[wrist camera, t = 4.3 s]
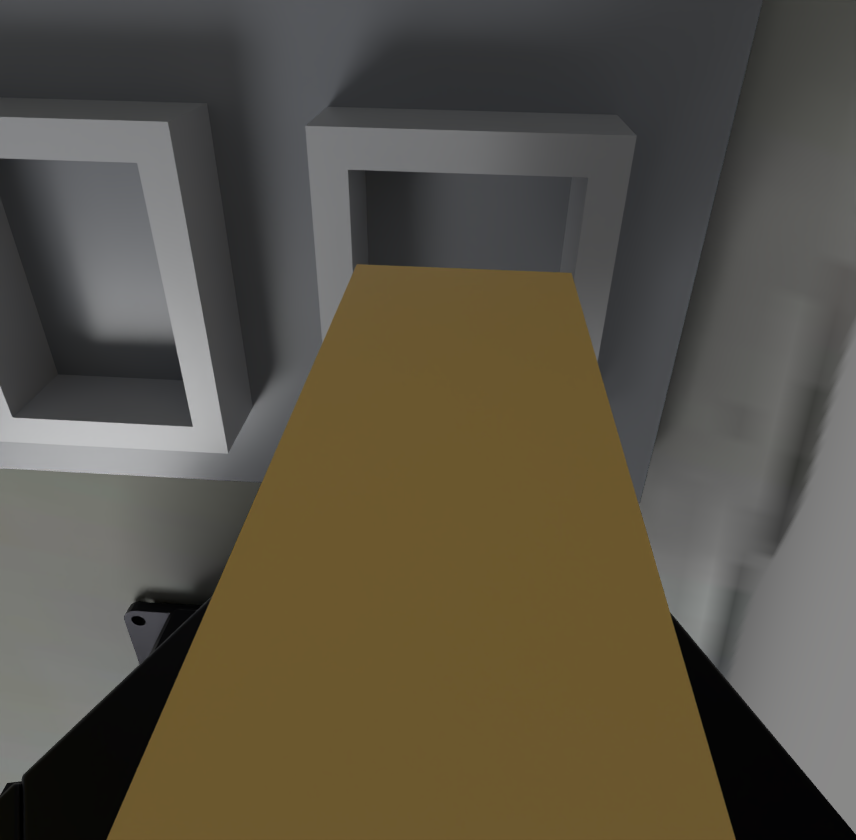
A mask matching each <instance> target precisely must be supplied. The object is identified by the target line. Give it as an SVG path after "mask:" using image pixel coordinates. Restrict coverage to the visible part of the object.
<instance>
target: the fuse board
mask: <svg viewBox="0 0 856 840" xmlns="http://www.w3.org/2000/svg"><path fill="white" fill-rule="evenodd" d="M762 2H763V0H0V468H8V469H26V470H44V471H62V472H80V473H98V474H116V475H134V476H153V477H171V478H189V479H207V480H225V481H243V482H261V483H262V481H263V479H264V476H265V474H266V472H267V469H268V467H269V465H270V463H271V460H272V458H273V456H274V453H275V451H276V449H277V446H278V444H279V442H280V440H281V437H282V435H283V433H284V430H285V428H286V426H287V423H288V421H289V419H290V417H291V414H292V412H293V410H294V407H295V405H296V403H297V400H298V398H299V396H300V394H301V391H302V389H303V387H304V384H305V382H306V380H307V377H308V375H309V373H310V371H311V368H312V366H313V364H314V361H315V359H316V357H317V354H318V352H319V350H320V348H321V345H322V343H323V341H324V338H325V336H326V334H327V331H328V329H329V327H330V325H331V322H332V320H333V318H334V315H335V313H336V311H337V308H338V306H339V304H340V302H341V299H342V297H343V295H344V292H345V290H346V288H347V285H348V283H349V281H350V279H351V276H352V274H353V272H354V269H355V267H356V265H357V264H363V265H388V266H413V267H438V268H463V269H488V270H513V271H538V272H563V273H572V276H573V280H574V283H575V287H576V290H577V293H578V297H579V300H580V304H581V307H582V311H583V314H584V318H585V321H586V325H587V328H588V331H589V335H590V338H591V342H592V345H593V349H594V352H595V356H596V359H597V363H598V366H599V369H600V373H601V376H602V380H603V383H604V387H605V390H606V394H607V397H608V400H609V404H610V407H611V411H612V414H613V418H614V421H615V425H616V428H617V432H618V435H619V438H620V442H621V445H622V449H623V452H624V456H625V459H626V463H627V466H628V470H629V473H630V476H631V480H632V483H633V487H634V490H635V494H636V497H637V501H638V503H640V501H641V497H642V493H643V489H644V485H645V481H646V477H647V472H648V468H649V464H650V460H651V456H652V452H653V448H654V444H655V440H656V436H657V432H658V427H659V423H660V419H661V415H662V411H663V407H664V403H665V399H666V395H667V391H668V387H669V382H670V378H671V374H672V370H673V366H674V362H675V358H676V354H677V350H678V346H679V342H680V337H681V333H682V329H683V325H684V321H685V317H686V313H687V309H688V305H689V301H690V297H691V292H692V288H693V284H694V280H695V276H696V272H697V268H698V264H699V260H700V256H701V252H702V247H703V243H704V239H705V235H706V231H707V227H708V223H709V219H710V215H711V211H712V207H713V202H714V198H715V194H716V190H717V186H718V182H719V178H720V174H721V170H722V166H723V162H724V157H725V153H726V149H727V145H728V141H729V137H730V133H731V129H732V125H733V121H734V117H735V112H736V108H737V104H738V100H739V96H740V92H741V88H742V84H743V80H744V76H745V72H746V67H747V63H748V59H749V55H750V51H751V47H752V43H753V39H754V35H755V31H756V27H757V23H758V18H759V14H760V10H761V6H762Z"/></svg>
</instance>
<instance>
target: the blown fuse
mask: <svg viewBox="0 0 856 840" xmlns="http://www.w3.org/2000/svg"><path fill="white" fill-rule="evenodd" d="M107 840H736V839H735V836H734V832H733V829H732V825H731V822H730V818H729V815H728V812H727V808H726V805H725V801H724V798H723V794H722V791H721V787H720V784H719V780H718V777H717V774H716V770H715V767H714V763H713V760H712V756H711V753H710V749H709V746H708V742H707V739H706V736H705V732H704V729H703V725H702V722H701V718H700V715H699V711H698V708H697V704H696V701H695V698H694V694H693V691H692V687H691V684H690V680H689V677H688V673H687V670H686V666H685V663H684V660H683V656H682V653H681V649H680V646H679V642H678V639H677V635H676V632H675V628H674V625H673V622H672V618H671V615H670V611H669V608H668V604H667V601H666V597H665V594H664V590H663V587H662V584H661V580H660V577H659V573H658V570H657V566H656V563H655V559H654V556H653V552H652V549H651V546H650V542H649V539H648V535H647V532H646V528H645V525H644V521H643V518H642V514H641V511H640V508H639V504H638V501H637V497H636V494H635V490H634V487H633V483H632V480H631V476H630V473H629V470H628V466H627V463H626V459H625V456H624V452H623V449H622V445H621V442H620V438H619V435H618V432H617V428H616V425H615V421H614V418H613V414H612V411H611V407H610V404H609V400H608V397H607V394H606V390H605V387H604V383H603V380H602V376H601V373H600V369H599V366H598V363H597V359H596V356H595V352H594V349H593V345H592V342H591V338H590V335H589V331H588V328H587V325H586V321H585V318H584V314H583V311H582V307H581V304H580V300H579V297H578V293H577V290H576V287H575V283H574V280H573V276H572V273H563V272H538V271H513V270H488V269H463V268H438V267H413V266H388V265H363V264H357V265H356V267H355V269H354V272H353V274H352V276H351V279H350V281H349V283H348V285H347V288H346V290H345V292H344V295H343V297H342V299H341V302H340V304H339V306H338V308H337V311H336V313H335V315H334V318H333V320H332V322H331V325H330V327H329V329H328V331H327V334H326V336H325V338H324V341H323V343H322V345H321V348H320V350H319V352H318V354H317V357H316V359H315V361H314V364H313V366H312V368H311V371H310V373H309V375H308V377H307V380H306V382H305V384H304V387H303V389H302V391H301V394H300V396H299V398H298V400H297V403H296V405H295V407H294V410H293V412H292V414H291V417H290V419H289V421H288V423H287V426H286V428H285V430H284V433H283V435H282V437H281V440H280V442H279V444H278V446H277V449H276V451H275V453H274V456H273V458H272V460H271V463H270V465H269V467H268V469H267V472H266V474H265V476H264V479H263V481H262V483H261V486H260V488H259V490H258V492H257V495H256V497H255V499H254V502H253V504H252V506H251V509H250V511H249V513H248V515H247V518H246V520H245V522H244V525H243V527H242V529H241V532H240V534H239V536H238V538H237V541H236V543H235V545H234V548H233V550H232V552H231V555H230V557H229V559H228V561H227V564H226V566H225V568H224V571H223V573H222V575H221V578H220V580H219V582H218V584H217V587H216V589H215V591H214V594H213V596H212V598H211V601H210V603H209V605H208V607H207V610H206V612H205V614H204V617H203V619H202V621H201V624H200V626H199V628H198V630H197V633H196V635H195V637H194V640H193V642H192V644H191V647H190V649H189V651H188V653H187V656H186V658H185V660H184V663H183V665H182V667H181V670H180V672H179V674H178V676H177V679H176V681H175V683H174V686H173V688H172V690H171V693H170V695H169V697H168V699H167V702H166V704H165V706H164V709H163V711H162V713H161V716H160V718H159V720H158V722H157V725H156V727H155V729H154V732H153V734H152V736H151V739H150V741H149V743H148V745H147V748H146V750H145V752H144V755H143V757H142V759H141V762H140V764H139V766H138V768H137V771H136V773H135V775H134V778H133V780H132V782H131V785H130V787H129V789H128V791H127V794H126V796H125V798H124V801H123V803H122V805H121V808H120V810H119V812H118V814H117V817H116V819H115V821H114V824H113V826H112V828H111V831H110V833H109V835H108V837H107Z"/></svg>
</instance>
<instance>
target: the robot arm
mask: <svg viewBox="0 0 856 840" xmlns="http://www.w3.org/2000/svg"><path fill="white" fill-rule="evenodd" d="M211 598H212V596H211V597H210V598H209V599H208V600H207V601H206V602H205V603H204V604H203V605H202V606H193V605H178V604H162V603H147V602H135V603H133V604H131V605H130V607H129V609H128V610H127V612H126V614H125V616H124V620H125V623H126V626H127V629H128V632H129V635H130V637H131V640H132V643H133V646H134V649H135V652H136V655H137V658H138V661H139V664H140V665H139V666H138V667H137V668H135V669H134V670H133V671H132V672H131V673H130V674H129V675H128V676H127V677H126V678H125V679H124V680H123V681H122V682H121V683H120V684H119V685H118V686H116V687H115V688H114V689H113V690H112V691H111V692H110V693H109V694H108V695H107V696H106V697H105V698H104V699H103V700H102V701H101V702H100V703H99V704H97V705H96V706H95V707H94V708H93V709H92V710H91V711H90V712H89V713H88V714H87V715H86V716H85V717H84V718H83V719H82V720H81V721H80V722H78V723H77V724H76V725H75V726H74V727H73V728H72V729H71V730H70V731H69V732H68V733H67V734H66V735H65V736H64V737H63V738H62V739H61V740H59V741H58V742H57V743H56V744H55V745H54V746H53V747H52V748H51V749H50V750H49V751H48V752H47V753H46V754H45V755H44V756H43V757H42V758H40V759H39V760H38V761H37V762H36V763H35V764H34V765H33V766H32V767H31V768H30V769H29V770H28V771H27V772H26V773H25V774H24V775H23V777H22V781H21V782H13V783H7V784H6V786H5V788H4V790H3V791H2V793H1V795H0V840H107V837H108V835H109V833H110V831H111V828H112V826H113V824H114V821H115V819H116V817H117V814H118V812H119V810H120V808H121V805H122V803H123V801H124V798H125V796H126V794H127V791H128V789H129V787H130V785H131V782H132V780H133V778H134V775H135V773H136V771H137V768H138V766H139V764H140V762H141V759H142V757H143V755H144V752H145V750H146V748H147V745H148V743H149V741H150V739H151V736H152V734H153V732H154V729H155V727H156V725H157V722H158V720H159V718H160V716H161V713H162V711H163V709H164V706H165V704H166V702H167V699H168V697H169V695H170V693H171V690H172V688H173V686H174V683H175V681H176V679H177V676H178V674H179V672H180V670H181V667H182V665H183V663H184V660H185V658H186V656H187V653H188V651H189V649H190V647H191V644H192V642H193V640H194V637H195V635H196V633H197V630H198V628H199V626H200V624H201V621H202V619H203V617H204V614H205V612H206V610H207V607H208V605H209V603H210V601H211ZM670 615H671V618H672V622H673V625H674V628H675V632H676V635H677V639H678V642H679V646H680V649H681V653H682V656H683V660H684V663H685V666H686V670H687V673H688V677H689V680H690V684H691V687H692V691H693V694H694V698H695V701H696V704H697V708H698V711H699V715H700V718H701V722H702V725H703V729H704V732H705V736H706V739H707V742H708V746H709V749H710V753H711V756H712V760H713V763H714V767H715V770H716V774H717V777H718V780H719V784H720V787H721V791H722V794H723V798H724V801H725V805H726V808H727V812H728V815H729V818H730V822H731V825H732V829H733V832H734V836H735V839H736V840H856V834H855V833H854V832H853V831H852V829H851V828H850V827H849V826H848V825H847V823H846V822H845V821H844V820H843V819H842V817H841V816H840V815H839V814H838V813H837V811H836V810H835V809H834V808H833V807H832V805H831V804H830V803H829V802H828V801H827V800H826V798H825V797H824V796H823V795H822V794H821V792H820V791H819V790H818V789H817V787H816V786H815V785H814V784H813V783H812V782H811V780H810V779H809V778H808V777H807V776H806V774H805V773H804V772H803V771H802V770H801V769H800V767H799V766H798V765H797V764H796V762H795V761H794V760H793V759H792V758H791V756H790V755H789V754H788V753H787V752H786V750H785V749H784V748H783V747H782V746H781V744H780V743H779V742H778V741H777V740H776V738H775V737H774V736H773V735H772V734H771V732H770V731H769V730H768V729H767V728H766V727H765V725H764V724H763V723H762V722H761V721H760V719H759V718H758V717H757V716H756V715H755V713H754V712H753V711H752V710H751V709H750V707H749V706H748V705H747V704H746V703H745V701H744V700H743V699H742V698H741V697H740V696H739V694H738V693H737V692H736V691H735V690H734V688H733V687H732V686H731V685H730V683H729V682H728V681H727V680H726V679H725V677H724V676H723V675H722V674H721V673H720V671H719V670H718V669H717V668H716V667H715V665H714V664H713V663H712V662H711V661H710V659H709V658H708V657H707V656H706V655H705V653H704V652H703V651H702V650H701V649H700V648H699V646H698V645H697V644H696V643H695V642H694V640H693V639H692V638H691V637H690V636H689V634H688V633H687V632H686V631H685V630H684V628H683V627H682V626H681V625H680V624H679V622H678V621H677V620H676V619H675V618H674V616H673V615H672V614H671V613H670Z"/></svg>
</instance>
